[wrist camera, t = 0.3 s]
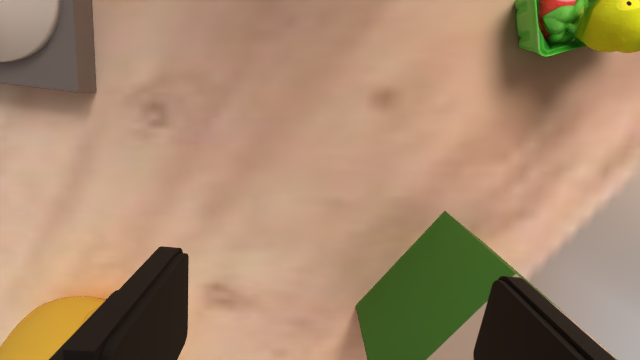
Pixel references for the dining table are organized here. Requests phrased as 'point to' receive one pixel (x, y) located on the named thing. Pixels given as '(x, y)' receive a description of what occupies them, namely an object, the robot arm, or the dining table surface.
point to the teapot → (48, 328)
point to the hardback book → (433, 297)
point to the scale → (47, 44)
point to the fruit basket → (578, 25)
